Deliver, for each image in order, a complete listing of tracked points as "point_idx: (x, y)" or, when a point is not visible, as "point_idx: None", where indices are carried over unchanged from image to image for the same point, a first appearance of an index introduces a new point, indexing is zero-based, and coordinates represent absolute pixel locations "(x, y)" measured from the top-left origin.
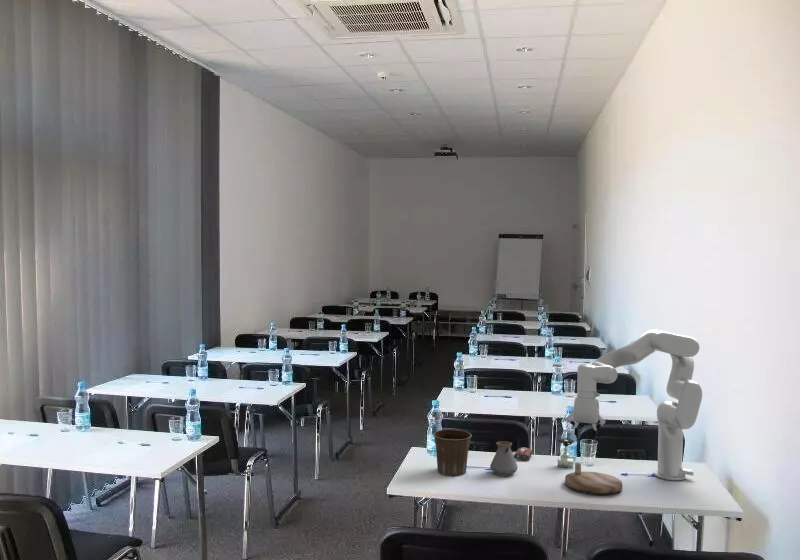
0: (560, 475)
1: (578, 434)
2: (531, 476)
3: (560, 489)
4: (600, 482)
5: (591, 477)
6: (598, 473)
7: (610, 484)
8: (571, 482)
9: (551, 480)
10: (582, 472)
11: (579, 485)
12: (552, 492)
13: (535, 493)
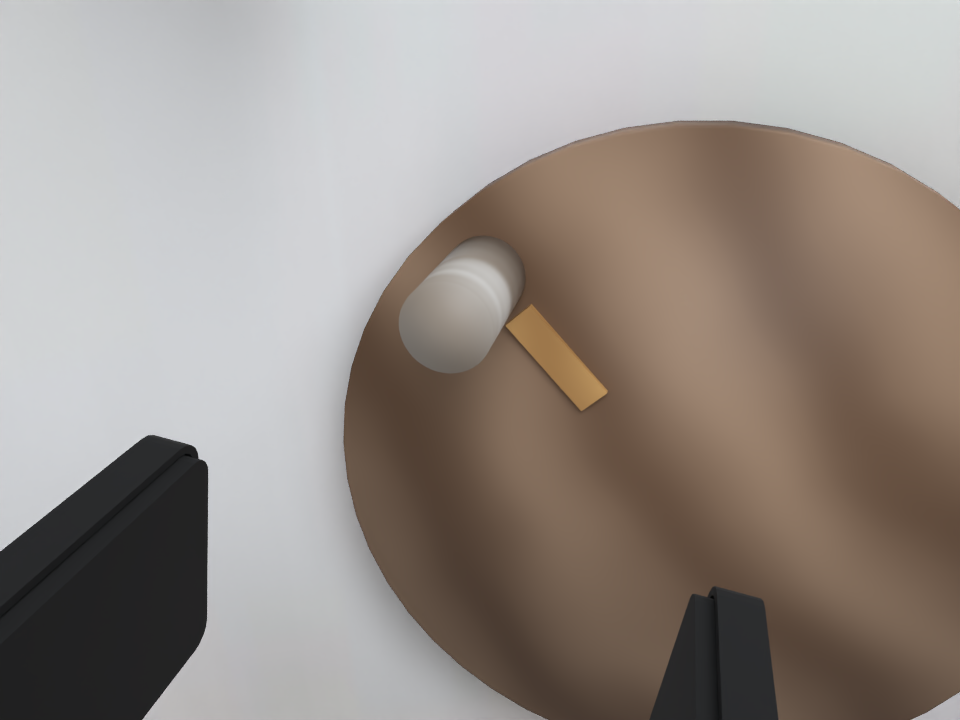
0: (290, 128)
1: (163, 560)
2: (20, 265)
3: (347, 580)
4: (759, 558)
5: (662, 396)
6: (794, 186)
7: (880, 607)
8: (423, 602)
9: (227, 345)
10: (549, 204)
11: (507, 673)
12: (292, 655)
13: (175, 688)
